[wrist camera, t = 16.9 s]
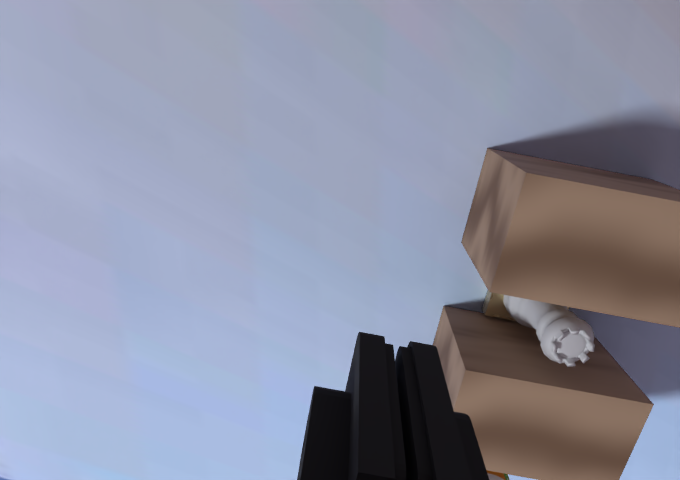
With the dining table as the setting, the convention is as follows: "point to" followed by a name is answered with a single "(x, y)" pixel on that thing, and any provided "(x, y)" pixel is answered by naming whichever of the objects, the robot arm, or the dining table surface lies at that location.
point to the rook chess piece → (554, 329)
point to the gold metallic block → (496, 306)
